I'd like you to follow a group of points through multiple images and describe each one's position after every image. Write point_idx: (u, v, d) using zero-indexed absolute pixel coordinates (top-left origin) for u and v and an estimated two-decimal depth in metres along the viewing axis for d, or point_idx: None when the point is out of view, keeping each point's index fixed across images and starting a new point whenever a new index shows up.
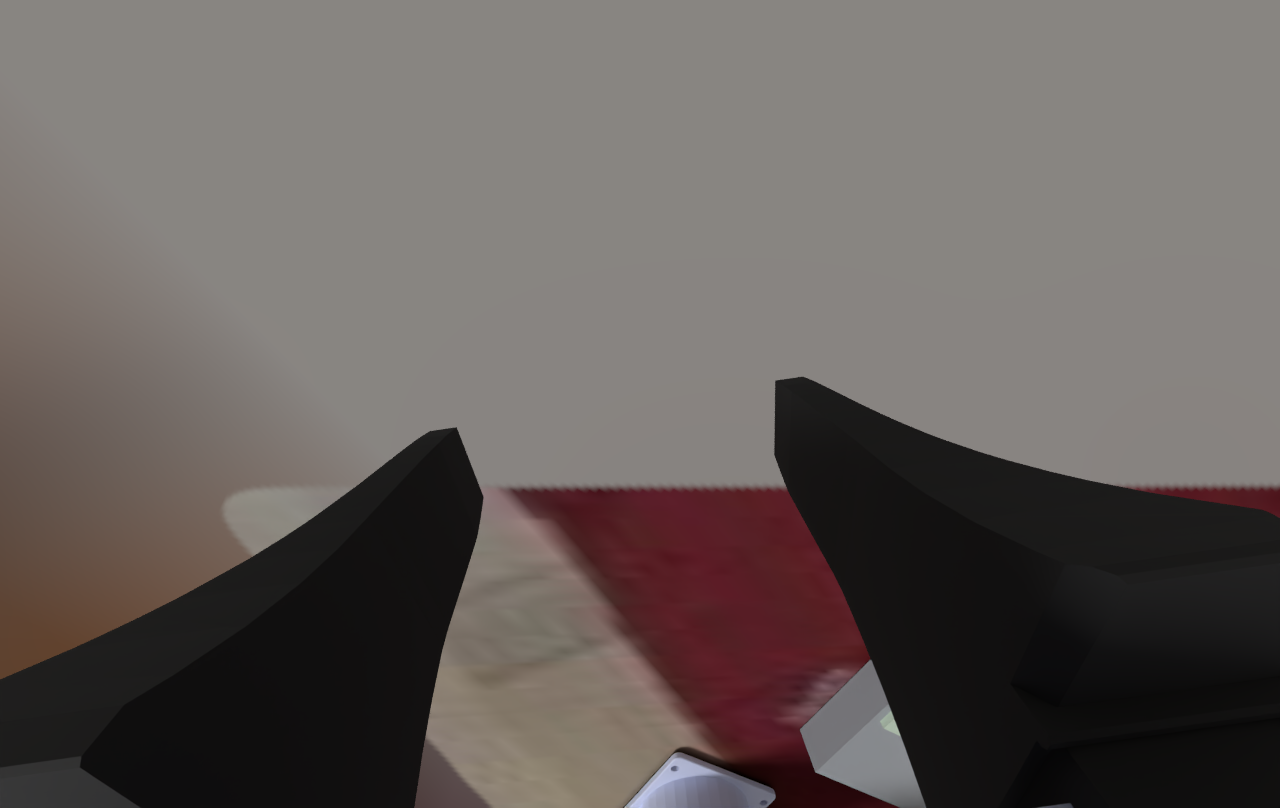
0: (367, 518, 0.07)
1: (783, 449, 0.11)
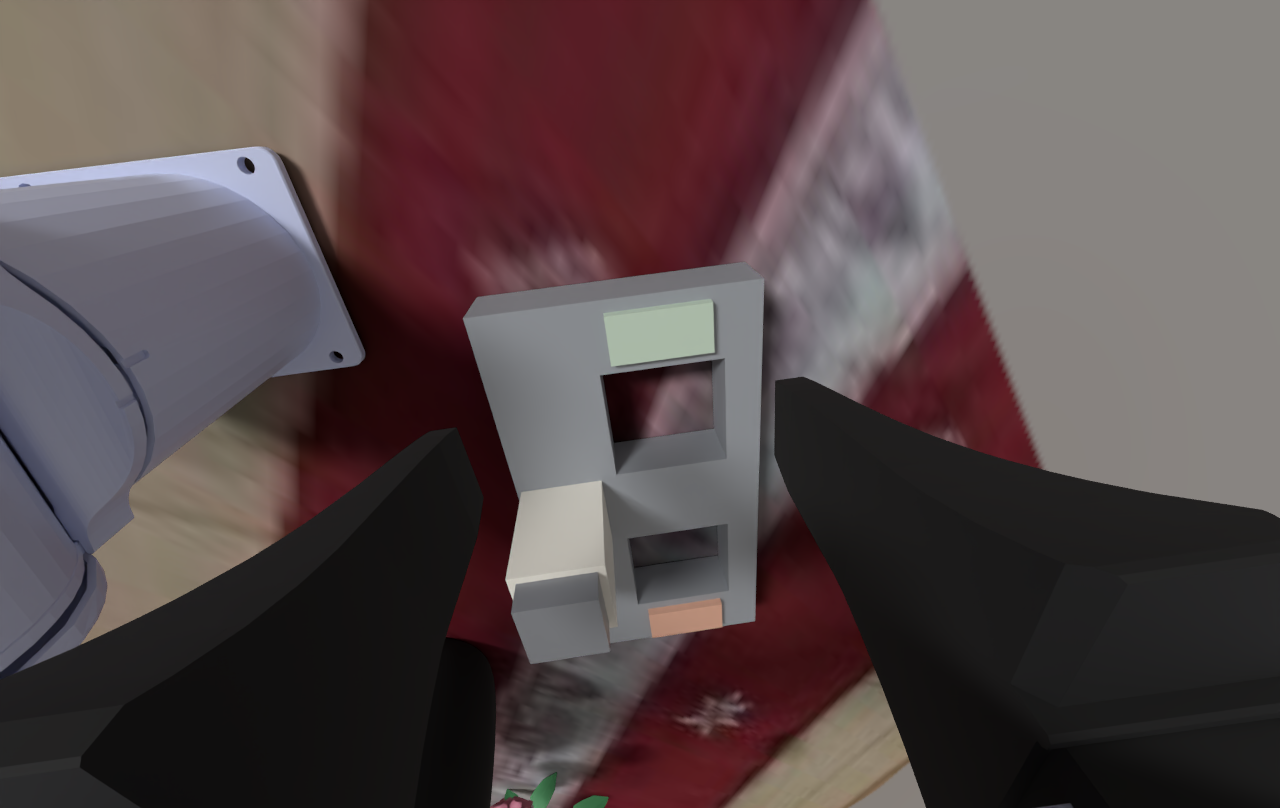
0: (367, 518, 0.07)
1: (783, 449, 0.11)
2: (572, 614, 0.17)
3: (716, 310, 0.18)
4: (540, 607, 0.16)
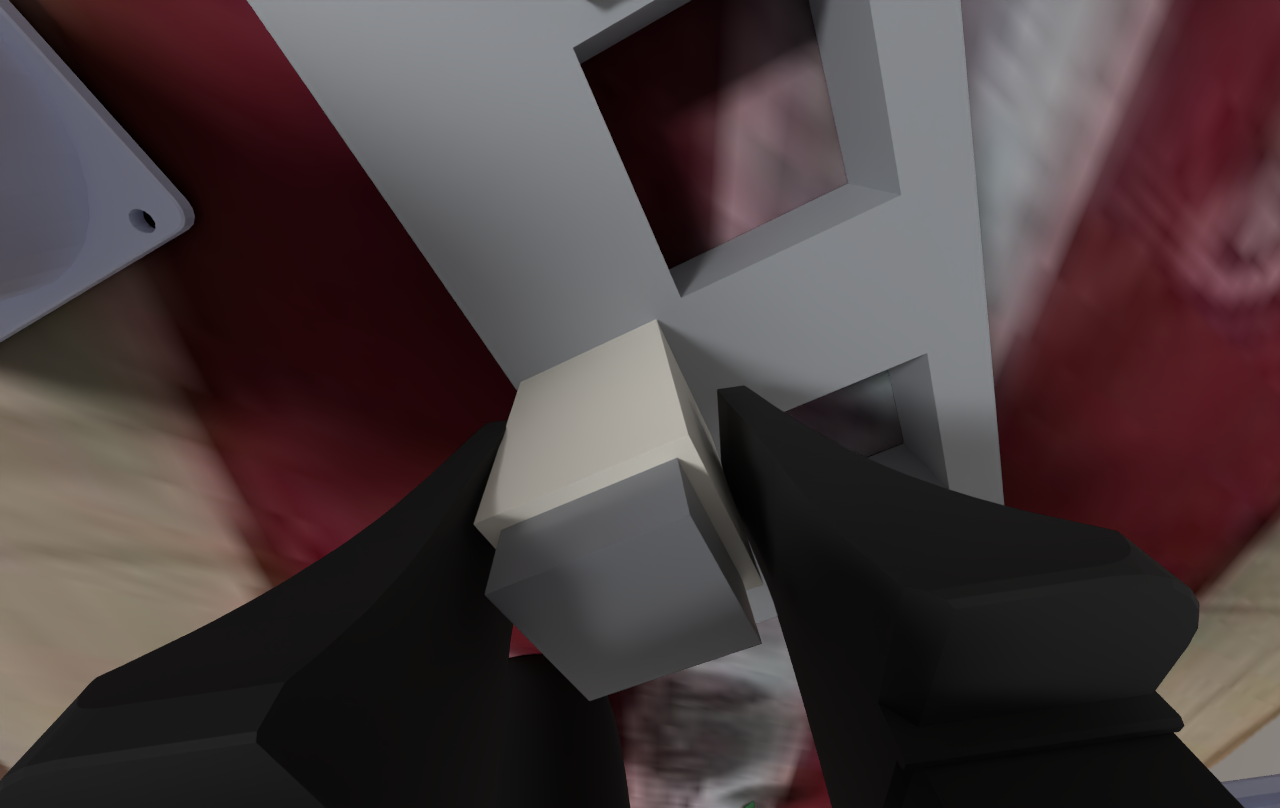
0: (451, 506, 0.07)
1: (725, 457, 0.11)
2: (636, 568, 0.06)
3: None
4: (550, 565, 0.06)
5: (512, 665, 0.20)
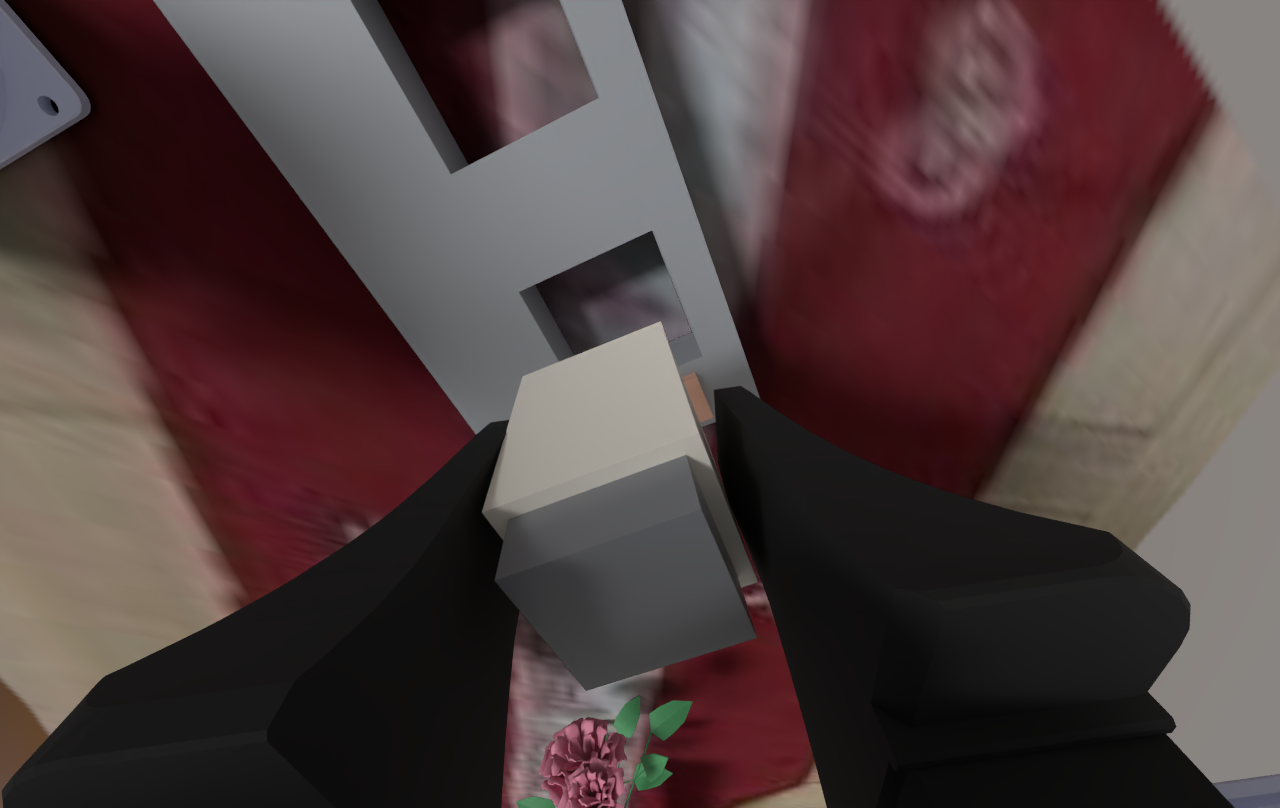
0: (456, 505, 0.07)
1: (722, 458, 0.11)
2: (645, 560, 0.07)
3: None
4: (562, 554, 0.06)
5: None
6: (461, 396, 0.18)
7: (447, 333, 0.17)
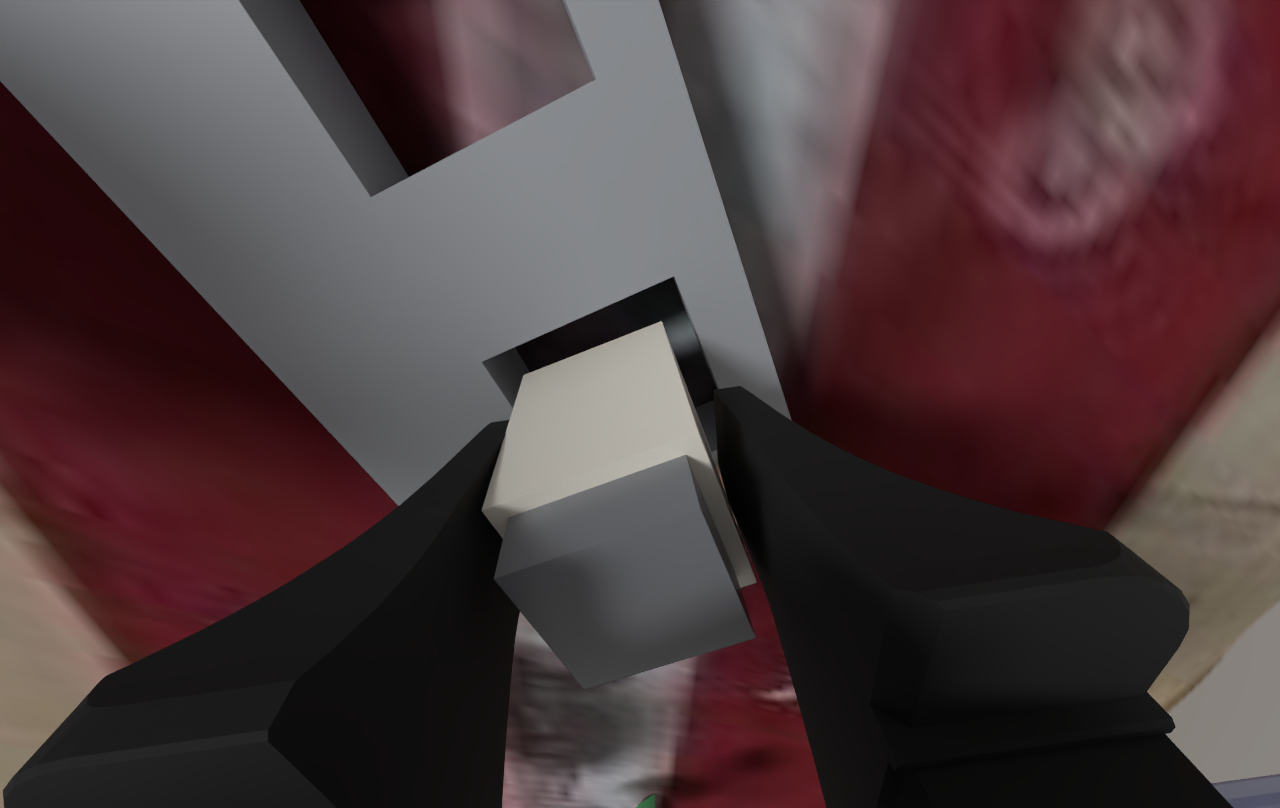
0: (456, 505, 0.07)
1: (722, 458, 0.11)
2: (644, 559, 0.07)
3: None
4: (561, 552, 0.06)
5: None
6: (408, 495, 0.13)
7: (383, 417, 0.12)
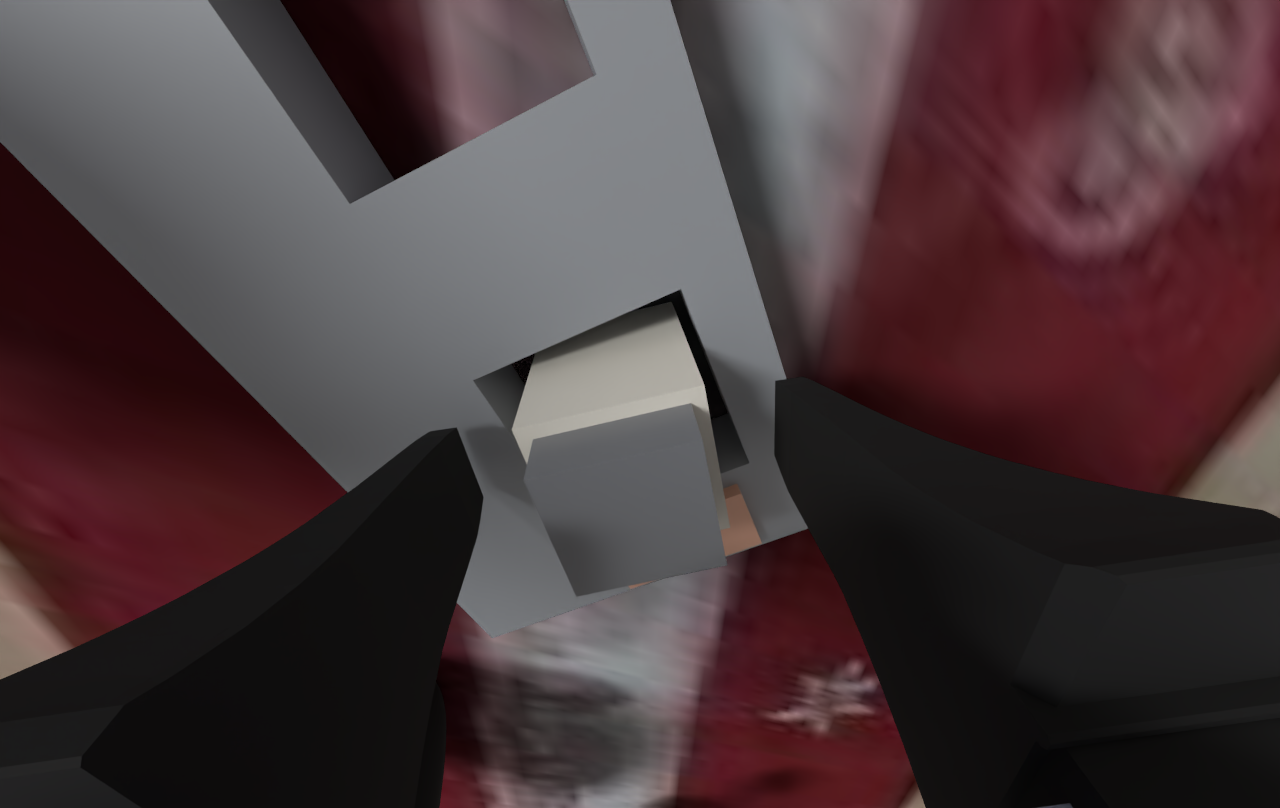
0: (367, 518, 0.07)
1: (783, 449, 0.11)
2: (649, 479, 0.08)
3: None
4: (583, 465, 0.08)
5: None
6: None
7: (367, 439, 0.11)
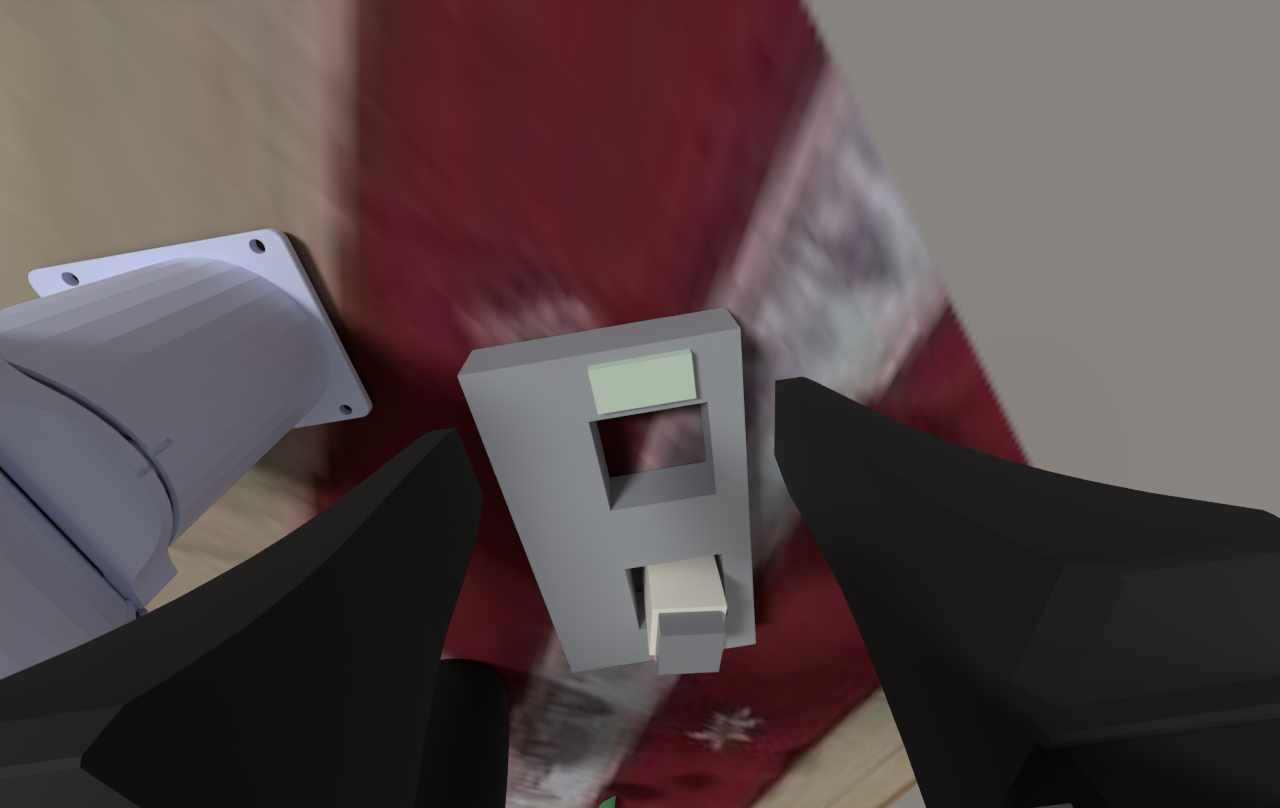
0: (367, 518, 0.07)
1: (783, 449, 0.11)
2: (703, 641, 0.22)
3: (696, 359, 0.19)
4: (682, 634, 0.22)
5: (450, 664, 0.30)
6: (558, 614, 0.26)
7: (567, 582, 0.24)
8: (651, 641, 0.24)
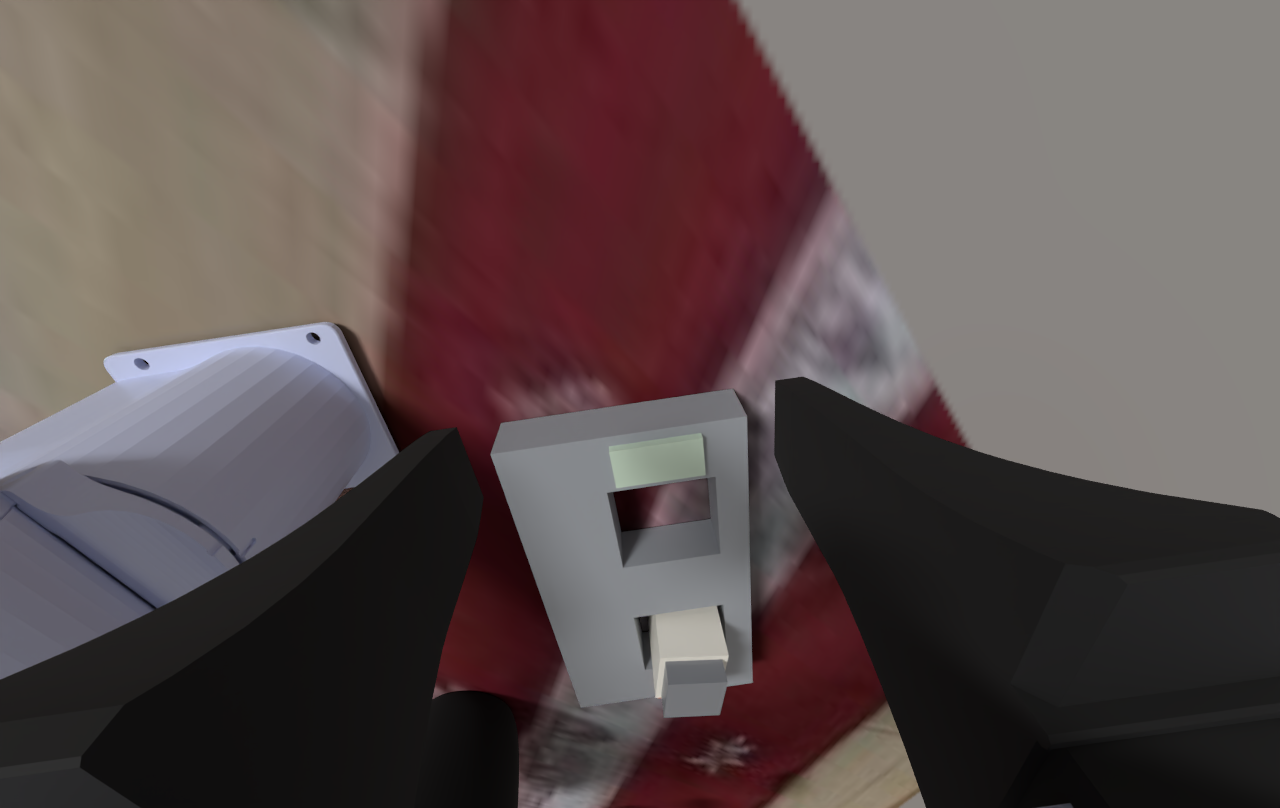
0: (367, 518, 0.07)
1: (783, 449, 0.11)
2: (706, 689, 0.24)
3: (706, 441, 0.21)
4: (688, 682, 0.24)
5: (464, 696, 0.32)
6: (570, 656, 0.28)
7: (580, 628, 0.26)
8: (658, 685, 0.26)
